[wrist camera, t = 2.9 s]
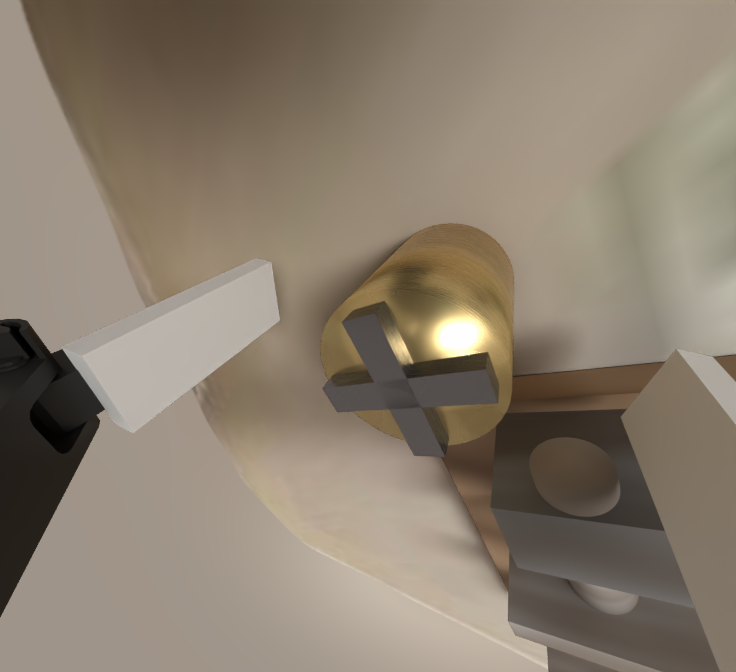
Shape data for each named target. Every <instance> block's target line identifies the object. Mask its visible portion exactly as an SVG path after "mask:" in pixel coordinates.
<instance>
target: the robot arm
mask: <svg viewBox="0 0 736 672" xmlns="http://www.w3.org/2000/svg"><path fill="white" fill-rule="evenodd" d="M279 321H280V317H279V310H278V304H277V297H276V290H275V284H274V277H273V270H272V264H271V262H270V261H266V260H261V259H256V258H255V259H253V260H251V261H249V262H246V263H244V264H242V265H240V266H238V267H235V268H233V269H231V270H229V271H227V272H224V273H222V274H220V275H218V276H216V277H213V278H211V279H209V280H207V281H205V282H202V283H200V284H198V285H196V286H194V287H191V288H189V289H187V290H185V291H183V292H180V293H178V294H176V295H174V296H172V297H169V298H167V299H165V300H163V301H161V302H158V303H156V304H154V305H152V306H150V307H147V308H145V309H143V310H141V311H139V312H136V313H134V314H132V315H130V316H128V317H125V318H123V319H121V320H119V321H117V322H114V323H112V324H110V325H108V326H106V327H104V328H101V329H99V330H97V331H95V332H92V333H90V334H88V335H86V336H84V337H81V338H79V339H77V340H75V341H73V342H70V343H68V344H66V345H64V346H62V347H61V348H62V350H59V351H57V352H54V353H50V351H49V350H48V349H47V347H46V346H45V345H44V343H43V342H42V341H41V339H40V338H39V336H38V335H37V334H36V332H35V331H34V330H33V328H32V327H31V326H30V324H29V323H28V322H27V321H26V320H21V319H5V320H0V617H1V615H2V613H3V611H4V609H5V607H6V605H7V603H8V601H9V599H10V597H11V596H12V594H13V592H14V590H15V588H16V586H17V584H18V582H19V580H20V578H21V576H22V574H23V572H24V571H25V569H26V567H27V565H28V563H29V561H30V559H31V557H32V555H33V553H34V551H35V549H36V547H37V545H38V543H39V542H40V540H41V538H42V536H43V534H44V532H45V530H46V528H47V526H48V524H49V522H50V520H51V518H52V516H53V514H54V512H55V510H56V509H57V507H58V505H59V503H60V501H61V499H62V497H63V495H64V493H65V491H66V489H67V487H68V486H69V483H70V482H71V480H72V478H73V476H74V474H75V472H76V470H77V468H78V466H79V464H80V462H81V460H82V458H83V457H84V454H85V453H86V451H87V449H88V447H89V445H90V443H91V441H92V439H93V437H94V435H95V433H96V431H97V429H98V427H99V424H100V420H99V418H98V417H97V414H99V413H100V412H102V411H103V410H105V411H106V412H107V414H108V415H109V416H110V418H111V419H112V421H113V422H114V423H115V424H116V425H118V426H120V427H122V428H124V429H126V430H128V431H130V432H132V433H134V432H135V431H137V430H138V429H139V428H141V427H142V426H143V425H145V424H146V423H147V422H148V421H150V420H151V419H152V418H154V417H155V416H156V415H158V414H159V413H160V412H161V411H163V410H164V409H165V408H167V407H168V406H169V405H171V404H172V403H173V402H175V401H176V400H177V399H178V398H180V397H181V396H182V395H184V394H185V393H186V392H188V391H189V390H190V389H191V388H193V387H194V386H195V385H197V384H198V383H199V382H201V381H202V380H203V379H205V378H206V377H207V376H208V375H210V374H211V373H212V372H214V371H215V370H216V369H218V368H219V367H220V366H221V365H223V364H224V363H225V362H227V361H228V360H229V359H231V358H232V357H233V356H234V355H236V354H237V353H238V352H240V351H241V350H242V349H244V348H245V347H246V346H247V345H249V344H250V343H251V342H253V341H254V340H255V339H257V338H258V337H259V336H260V335H262V334H263V333H264V332H266V331H267V330H268V329H270V328H271V327H272V326H273V325H275V324H276V323H277V322H279ZM621 419H622V422H623V425H624V427H625V430H626V432H627V435H628V437H629V440H630V442H631V445H632V448H633V450H634V453H635V455H636V458H637V460H638V463H639V466H640V468H641V471H642V473H643V476H644V478H645V481H646V483H647V486H648V489H649V491H650V494H651V496H652V499H653V501H654V504H655V507H656V509H657V512H658V514H659V517H660V519H661V522H662V524H663V527H664V530H665V532H666V535H667V537H668V540H669V542H670V545H671V548H672V550H673V553H674V555H675V558H676V560H677V563H678V565H679V568H680V571H681V573H682V576H683V578H684V581H685V583H686V586H687V589H688V591H689V594H690V596H691V599H692V601H693V604H694V606H695V609H696V612H697V614H698V617H699V619H700V622H701V624H702V627H703V630H704V632H705V635H706V637H707V640H708V642H709V645H710V647H711V650H712V653H713V655H714V658H715V660H716V663H717V665H718V668H719V671H720V672H736V382H735V380H734V379H733V378H732V377H731V376H730V375H729V374H728V373H727V372H726V371H725V370H724V369H723V368H722V366H721V365H720V364H719V363H718V362H717V361H716V360H715V359H714V358H713V357H711V356H707V355H702V354H697V353H693V352H688V351H683V350H679V349H676V350H675V351H674V352H673V353H672V355H671V356H670V357H669V358H668V360H667V361H666V362H665V363H664V364H663V366H662V367H661V368H660V369H659V371H658V372H657V373H656V374H655V376H654V377H653V378H652V379H651V380H650V382H649V383H648V384H647V385H646V387H645V388H644V389H643V390H642V391H641V393H640V394H639V395H638V396H637V398H636V399H635V400H634V401H633V402H632V404H631V405H630V406H629V407H628V409H627V410H626V411H625V412H624V413H623V415H622V416H621Z"/></svg>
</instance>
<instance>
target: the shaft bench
mask: <svg viewBox="0 0 736 672" xmlns="http://www.w3.org/2000/svg"><path fill="white" fill-rule="evenodd" d="M713 358H714V359H715V360H716V361H717V362H718V363H719V364H720V365H721V366H722V368H723V369H724V370H725V371H726V372H727V373H728V374H729V375H730V376H731V377H732V378H733V379H734V380H735V382H736V355H733V356H723V357H713ZM664 363H665V362H662V363H651V364H641V365H631V366H621V367H611V368H601V369H590V370H580V371H570V372H560V373H550V374H539V375H529V376H519V377H512V395H511V401H510V404H509V407H508V409H507V412H506V413H505V415H504V417H503V418H502V420H501V421H500V422H499V423H498V424H497V425H496V426H495V427H494V428H493V429H492V430H491V431H489V432H488V433H486V434H485V435H483V436H481V437H479V438H477V439H474V440H472V441H469V442H466V443H461V444H456V445H448V447H447V451H446V456H445V457H442V459H443V461H444V463H445V465H446V467H447V469H448V471H449V473H450V475H451V477H452V479H453V481H454V483H455V485H456V487H457V489H458V491H459V493H460V495H461V497H462V499H463V501H464V503H465V505H466V507H467V509H468V511H469V513H470V515H471V517H472V519H473V521H474V523H475V525H476V527H477V529H478V531H479V533H480V535H481V537H482V539H483V541H484V543H485V545H486V547H487V549H488V551H489V553H490V555H491V557H492V559H493V561H494V563H495V565H496V567H497V569H498V571H499V573H500V575H501V577H502V579H503V581H504V583H505V585H506V587H507V589H508V591H509V592H508V622H509V624H510V626H511V628H512V630H513V631H514V633H515V635H516V636H519V637H522V638H525V639H527V640H530V641H533V642H536V643H539V644H542V645H545V646H547V653H548V671H549V672H720V671H719V668H718V665H717V663H716V660H715V658H714V655H713V653H712V650H711V647H710V645H709V642H708V640H707V637H706V635H705V632H704V630H703V627H702V624H701V622H700V619H699V617H698V614H697V612H696V609H695V606H694V604H693V601H692V599H691V596H690V594H689V591H688V589H687V586H686V583H685V581H684V578H683V576H682V573H681V571H680V568H679V565H678V563H677V560H676V558H675V555H674V553H673V550H672V548H671V545H670V542H669V540H668V537H667V535H666V532H665V530H664V527H663V524H662V522H661V519H660V517H659V514H658V512H657V509H656V507H655V504H654V501H653V499H652V496H651V494H650V491H649V489H648V486H647V483H646V481H645V478H644V476H643V473H642V471H641V468H640V466H639V463H638V460H637V458H636V455H635V453H634V450H633V448H632V445H631V442H630V440H629V437H628V435H627V432H626V430H625V427H624V425H623V422H622V419H621V416H622V415H623V413H624V412H625V411H626V410H627V409H628V407H629V406H630V405H631V404H632V402H633V401H634V400H635V399H636V398H637V396H638V395H639V394H640V393H641V391H642V390H643V389H644V388H645V387H646V385H647V384H648V383H649V382H650V380H651V379H652V378H653V377H654V376H655V374H656V373H657V372H658V371H659V369H660V368H661V367H662V366H663V364H664Z"/></svg>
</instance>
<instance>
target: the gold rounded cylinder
mask: <svg viewBox="0 0 736 672" xmlns="http://www.w3.org/2000/svg"><path fill="white" fill-rule="evenodd" d="M513 317H514V274H513V269H512V265H511V262H510V260H509V258H508V256H507V254H506V252H505V251H504V250H503V248H502V247H501V246H500V244H499V243H497V242H496V241H495V240H494V239H493V238H492V237H491V236H489V235H488V234H486V233H485V232H483V231H481V230H479V229H477V228H474V227H471V226H467V225H463V224H453V223H448V224H439V225H434V226H431V227H428V228H425V229H423V230H421V231H419V232H417V233H416V234H414V235H413V236H411V237H410V238H409V239H408V240H407V241H406V242H405V243H404V244H403V245H402V246H401V247H399V248H398V249H397V250H396V251H395V252H394V253H393V254H392V255H391V256H390V257H389V258H388V259H387V260H386V261H385V262H384V263H383V264H382V265H381V266H380V267H379V268H378V269H377V270H376V271H375V272H374V273H373V274H372V275H371V276H370V277H369V278H368V279H367V280H366V281H365V282H364V283H363V284H362V285H361V286H360V287H359V288H358V289H357V290H356V291H355V292H354V293H353V294H352V295H351V296H350V297H349V298H348V299H347V300H346V301H345V302H344V303H343V304H342V305H341V306H340V307H338V308H337V309H336V310H335V312H334V313H333V314H332V315H331V317H330V318H329V319H328V321H327V323H326V325H325V327H324V330H323V333H322V336H321V343H320V354H321V361H322V365H323V368H324V371H325V374H326V376H327V379H328V382H327V383H326V385H325V386H324V387H323V388H322V389H323V390H324V392H325V393H326V395H327V396H328V398H329V400H330V401H331V403H332V404H333V406H334V407H335V409H336V411H337V412H349V411H353V412H354V413H355V414H356V415H357V416H359V417H360V418H361V419H363V420H364V421H365V422H367V423H368V424H370V425H372V426H373V427H375V428H377V429H378V430H380V431H382V432H384V433H386V434H389V435H391V436H394V437H396V438H399V439H402V440H405V441H407V443H408V445H409V447H410V449H411V450H412V452H413V454H414V456H437V457H445V456H446V451H447V447H448V445H456V444H461V443H466V442H469V441H472V440H474V439H477V438H479V437H481V436H483V435H485V434H486V433H488V432H489V431H491V430H492V429H493V428H494V427H495V426H496V425H497V424H498V423H499V422H500V421H501V420H502V418H503V417H504V415H505V413H506V412H507V409H508V407H509V404H510V401H511V395H512V370H513Z"/></svg>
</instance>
